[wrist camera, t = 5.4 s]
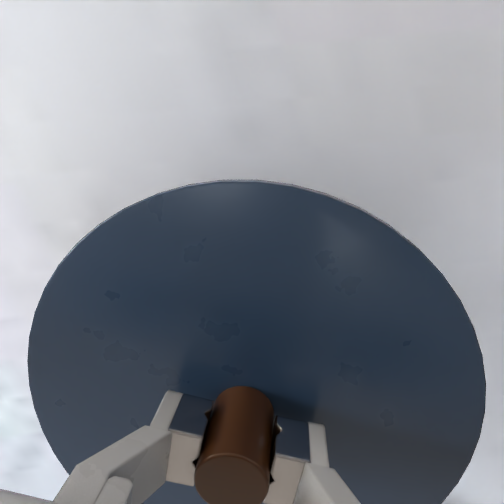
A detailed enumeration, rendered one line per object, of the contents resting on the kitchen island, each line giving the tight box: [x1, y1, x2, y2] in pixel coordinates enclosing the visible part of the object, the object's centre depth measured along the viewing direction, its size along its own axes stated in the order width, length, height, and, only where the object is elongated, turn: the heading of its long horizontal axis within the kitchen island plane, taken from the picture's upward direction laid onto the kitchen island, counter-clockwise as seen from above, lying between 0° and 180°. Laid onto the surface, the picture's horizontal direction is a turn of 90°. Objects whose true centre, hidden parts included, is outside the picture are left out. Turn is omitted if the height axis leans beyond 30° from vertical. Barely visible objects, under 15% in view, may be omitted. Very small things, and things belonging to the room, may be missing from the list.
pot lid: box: [28, 180, 486, 504], centre depth 12 cm, size 15×15×4 cm
